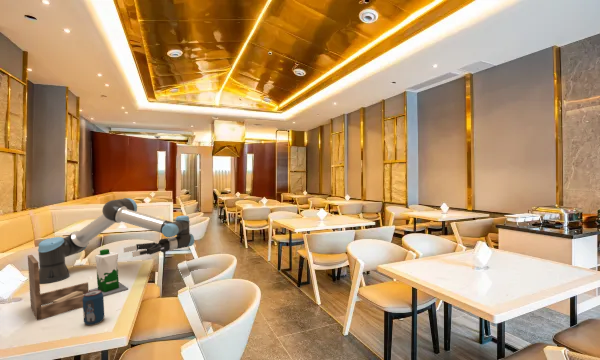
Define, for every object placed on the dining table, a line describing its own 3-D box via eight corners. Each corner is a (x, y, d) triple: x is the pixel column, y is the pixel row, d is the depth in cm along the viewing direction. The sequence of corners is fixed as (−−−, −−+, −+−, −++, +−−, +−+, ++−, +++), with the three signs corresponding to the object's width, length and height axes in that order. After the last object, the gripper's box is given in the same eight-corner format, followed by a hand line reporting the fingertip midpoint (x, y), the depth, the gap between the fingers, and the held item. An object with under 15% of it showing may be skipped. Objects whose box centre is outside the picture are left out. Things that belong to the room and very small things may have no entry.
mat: (119, 283, 166) (119, 282, 166) (128, 289, 156) (128, 288, 156) (88, 291, 155) (88, 290, 155) (96, 298, 146) (96, 297, 146)
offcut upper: (53, 306, 135) (52, 301, 134) (76, 296, 145) (76, 291, 145) (60, 307, 134) (60, 301, 134) (83, 296, 144) (83, 291, 144)
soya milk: (113, 284, 162) (111, 247, 161) (122, 287, 157) (120, 249, 157) (95, 290, 155) (92, 251, 154) (103, 293, 150) (101, 253, 149)
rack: (87, 291, 155) (85, 245, 154) (98, 302, 141) (96, 251, 141) (30, 307, 139) (27, 255, 138) (37, 320, 125) (33, 263, 125)
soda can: (102, 316, 127) (100, 287, 127) (106, 321, 123) (105, 292, 122) (82, 322, 122) (80, 293, 122) (86, 328, 118) (84, 297, 117)
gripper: (177, 254, 170) (137, 263, 154) (159, 247, 187) (120, 255, 171) (177, 241, 169) (136, 248, 154) (158, 235, 186) (120, 241, 171)
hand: (128, 252), depth 162 cm, fingers open, 13 cm apart
